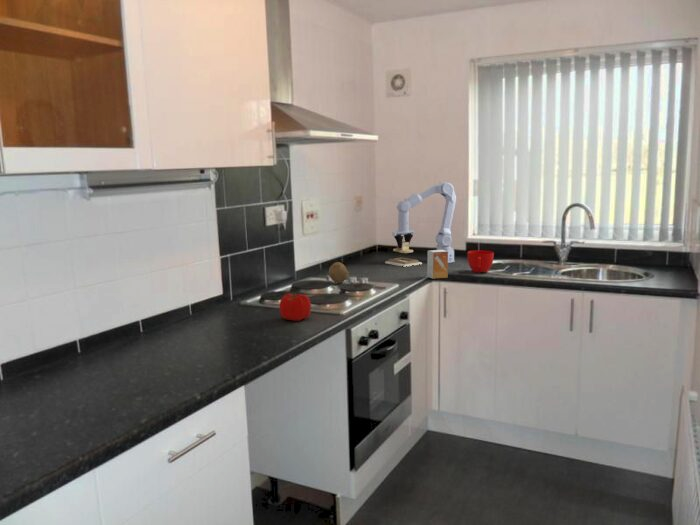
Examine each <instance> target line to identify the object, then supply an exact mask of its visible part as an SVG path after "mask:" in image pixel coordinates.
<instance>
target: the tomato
mask: <svg viewBox="0 0 700 525" xmlns="http://www.w3.org/2000/svg"><path fill="white" fill-rule="evenodd" d="M278 308H279V313H280V316H281V317H282V318H283V319H284V320H288V321H293V322H300V321H302V320H306V319H307V318H309V316H310V314H311V311H312V303H311V300H310V297H308V295H306V294H301V293H295V294H292V293H285V294H284V295H283V297H282V298H281V300H280V302H279V307H278Z"/></svg>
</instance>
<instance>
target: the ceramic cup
mask: <svg viewBox="0 0 700 525" xmlns="http://www.w3.org/2000/svg"><path fill="white" fill-rule="evenodd" d="M494 255H495V253H494V251H491V250H479V249H478V250H469V251H467V263H468V265H469V268H470V269H471V270H472V272H474V273H476V272H478V273H479V274H482V273H481V272H486V273H487V272H488V271H489V270H490V269H491V267H492V265H493V262H494ZM478 273H477V274H478Z"/></svg>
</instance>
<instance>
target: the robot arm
mask: <svg viewBox="0 0 700 525" xmlns="http://www.w3.org/2000/svg"><path fill="white" fill-rule="evenodd" d="M434 194H440V195H441V196H442V197H443V198H444V200H445V205H444V211H443V215H442V220H441V224H440V228H439V229H438V232H437V235H436V236H435V242H436V250H445V251H448V264H450V263H455V262H456V261H455V249H454V248H453V247H451V243H452V241H453V240H452V232H451V228H452V223H453V217H454V212H455V207H456V204H457V196H456V192H455V187H454V186H453V184H452V183H450V182H444V181H443V182H438V183H437V184H436V183H435V184H434V185H432V186H431V187H429V188H428V189H425V190H424V191H423V192H421V193H418V194H417V193H412V194H411V196H409V197H407V198H404V200H401V201H399V202H398V204H397V205H396V209H397V210H398V215H397V216H398V218H397V219H398V222H397V225H398V228H397V231H392V232H391V233H392V236H393V237H394V239H395V240H396V241H395V242H396V244H397V245H398V248H402V242H403V241H404V242H409V245H411V244H410V243H411V241H412V238H413V236H414V234H415V229H410V227H409V226H410V224H409V222H410V216H409V215H410V214H409V212H410V210H411V209H412V208H414V207H416V206H418V205H420V204H422V201H423V200H424V199H426V198H428V197H430V196H432V195H434ZM402 235H403V236H402Z"/></svg>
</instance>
